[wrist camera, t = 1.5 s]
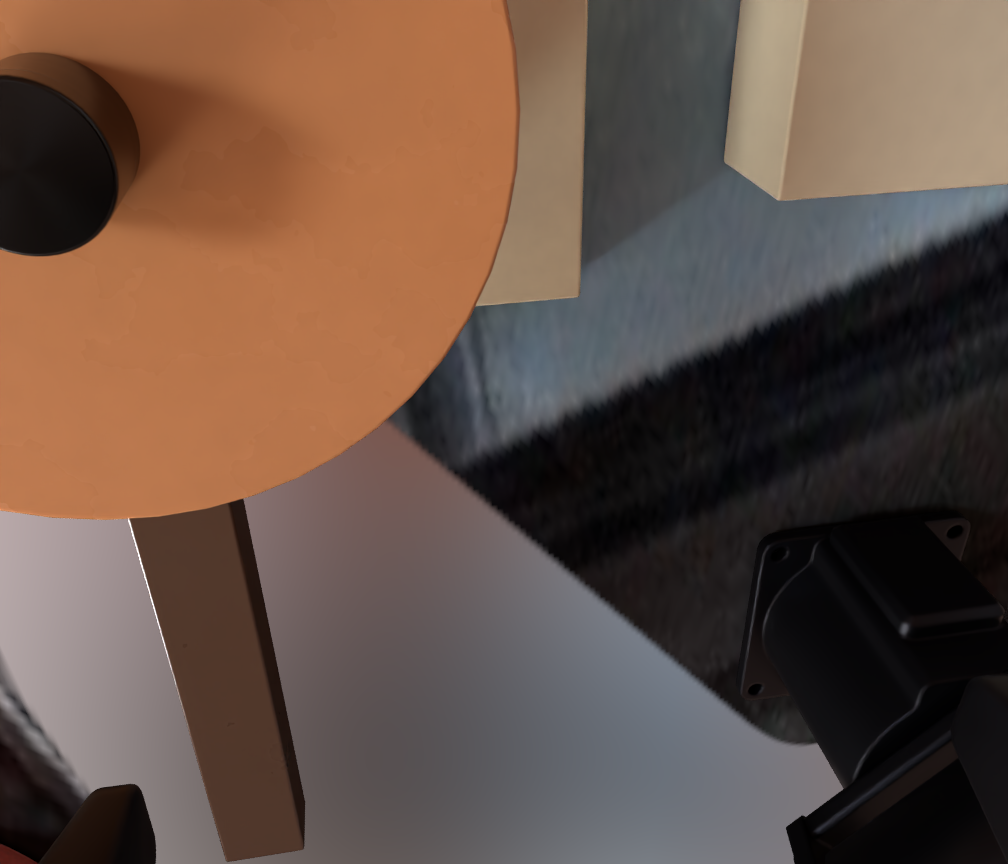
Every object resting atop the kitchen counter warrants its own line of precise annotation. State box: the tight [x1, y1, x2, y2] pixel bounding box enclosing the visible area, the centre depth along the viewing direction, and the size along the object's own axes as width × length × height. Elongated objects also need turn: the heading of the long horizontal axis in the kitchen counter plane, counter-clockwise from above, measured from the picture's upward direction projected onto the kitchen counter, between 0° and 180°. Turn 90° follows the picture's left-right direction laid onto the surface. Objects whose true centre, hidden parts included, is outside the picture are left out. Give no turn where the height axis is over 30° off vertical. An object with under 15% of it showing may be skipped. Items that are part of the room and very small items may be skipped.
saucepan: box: [0, 0, 520, 862], centre depth 15 cm, size 20×11×9 cm, turn 2°
